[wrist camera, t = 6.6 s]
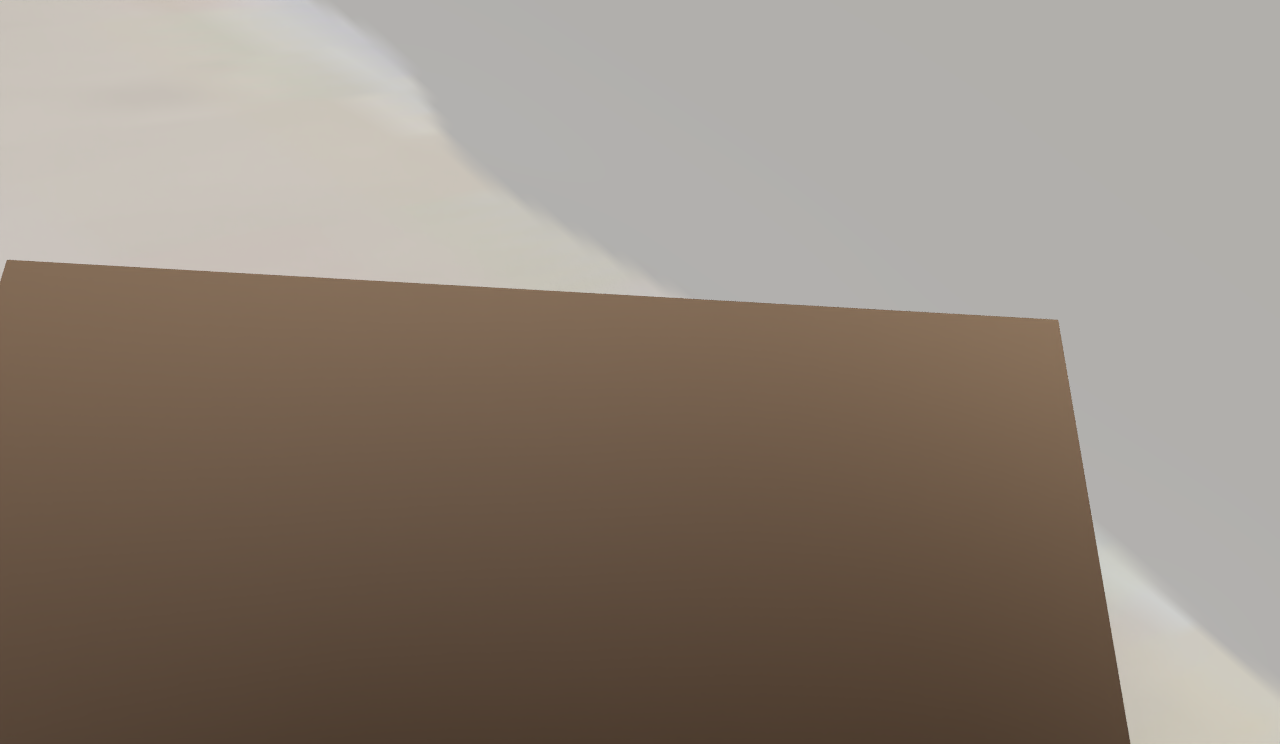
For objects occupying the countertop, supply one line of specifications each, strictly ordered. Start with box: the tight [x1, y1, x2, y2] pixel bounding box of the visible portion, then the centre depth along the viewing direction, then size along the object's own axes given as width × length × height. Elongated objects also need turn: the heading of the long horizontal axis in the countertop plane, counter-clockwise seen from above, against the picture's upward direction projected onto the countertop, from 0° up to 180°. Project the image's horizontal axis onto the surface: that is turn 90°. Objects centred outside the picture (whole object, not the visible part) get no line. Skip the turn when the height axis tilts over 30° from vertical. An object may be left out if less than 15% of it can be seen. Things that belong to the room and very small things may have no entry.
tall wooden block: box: [0, 260, 1130, 744], centre depth 8 cm, size 4×4×13 cm
